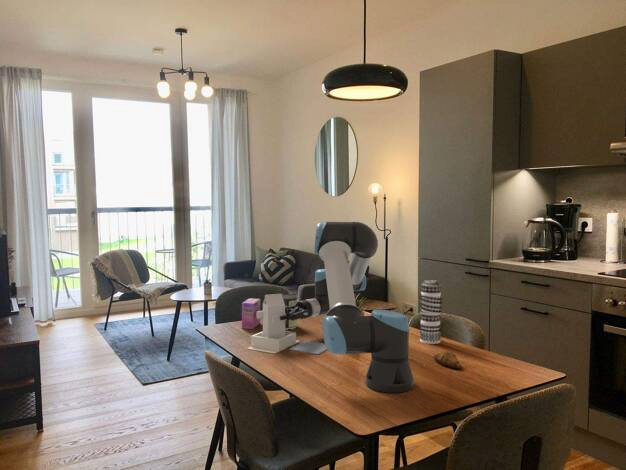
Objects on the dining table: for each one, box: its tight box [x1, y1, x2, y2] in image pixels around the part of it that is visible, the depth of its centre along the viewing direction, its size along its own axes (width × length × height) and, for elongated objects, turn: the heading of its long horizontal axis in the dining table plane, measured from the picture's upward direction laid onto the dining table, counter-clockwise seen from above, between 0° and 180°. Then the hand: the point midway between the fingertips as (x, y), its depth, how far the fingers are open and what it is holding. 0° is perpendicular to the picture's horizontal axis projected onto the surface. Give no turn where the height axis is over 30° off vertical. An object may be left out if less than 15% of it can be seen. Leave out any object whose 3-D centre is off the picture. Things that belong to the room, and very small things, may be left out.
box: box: [241, 297, 261, 330], centre depth 241 cm, size 10×6×12 cm, turn 168°
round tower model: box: [419, 279, 443, 345], centre depth 216 cm, size 9×9×25 cm
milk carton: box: [262, 293, 286, 339], centre depth 210 cm, size 7×7×19 cm
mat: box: [288, 340, 328, 355], centre depth 207 cm, size 13×13×1 cm
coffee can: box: [282, 293, 298, 331], centre depth 239 cm, size 10×10×14 cm
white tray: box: [246, 330, 301, 355], centre depth 211 cm, size 19×13×4 cm
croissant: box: [433, 350, 462, 370], centre depth 187 cm, size 14×7×5 cm, turn 24°
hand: (264, 317), depth 207 cm, fingers closed on milk carton, 9 cm apart
